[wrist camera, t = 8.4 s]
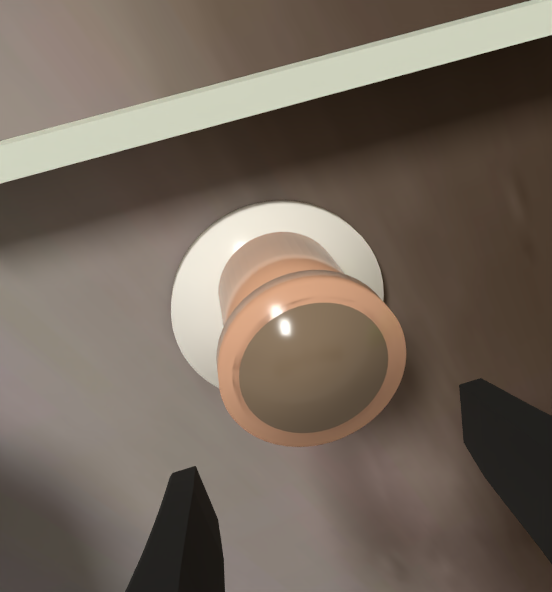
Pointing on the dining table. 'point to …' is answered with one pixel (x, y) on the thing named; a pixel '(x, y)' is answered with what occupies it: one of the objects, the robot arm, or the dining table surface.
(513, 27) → the rectangular frame
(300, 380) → the terracotta pot
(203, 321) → the saucer
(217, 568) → the robot arm
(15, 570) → the dining table surface
